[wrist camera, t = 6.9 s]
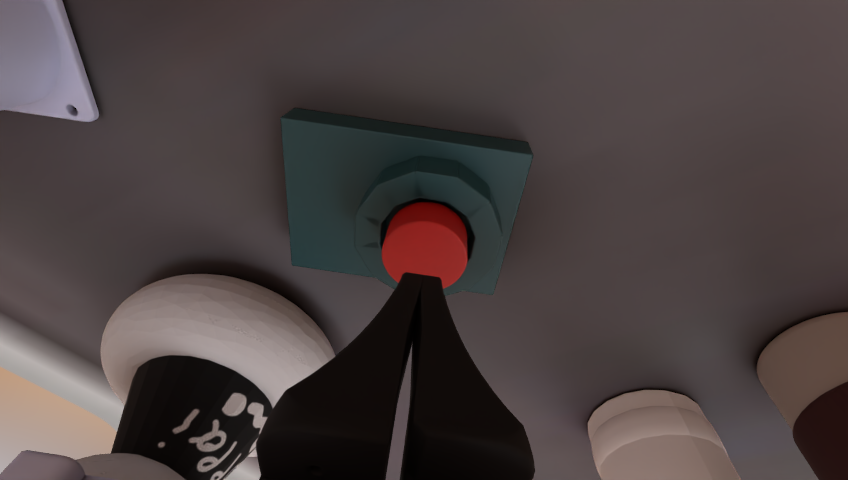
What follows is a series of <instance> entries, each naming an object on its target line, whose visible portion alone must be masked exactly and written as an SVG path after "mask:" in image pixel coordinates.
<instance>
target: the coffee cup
mask: <svg viewBox="0 0 848 480" xmlns="http://www.w3.org/2000/svg"><path fill="white" fill-rule="evenodd" d="M757 374H758V378H759V380H760V382H761V384H762V385H763V387H764V388H765V390H766V392H767V393H768V395H769V396H770V398H771V399H772V401H773V402H774V404H775V405H776V407H777V408H778V410H779V411H780V413H781V414H782V416H783V417H784V419H785V420H786V422H787V423H788V425H789V426H790V428H791V429H792V431H793V438H794V441H795V443H796V445H797V446H798V448H799V450H800V451H801V453H802V454H803V456H804V457H805V459H806V460H807V462H808V463H809V465H810V467H811V468H812V470H813V471H814V473H815V474H816V476H817V477H818V479H819V480H848V312H840V313H833V314H828V315H823V316H819V317H815V318H812V319H809V320H807V321H804V322H802V323H799V324H797V325H795V326H793V327H791V328H789V329H787V330H786V331H784V332H783V333H781V334H780V335H778V336H777V337H776V338H775V339H773V340H772V341H771V342H770V343H769V344H768V345H767V346H766V347H765V349H764V350H763V351H762V353H761V355H760V357H759V360H758V363H757Z"/></svg>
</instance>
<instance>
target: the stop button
mask: <svg viewBox="0 0 848 480" xmlns="http://www.w3.org/2000/svg"><path fill="white" fill-rule="evenodd" d="M467 260H468V254H467V231H466V228H465V225H464V223H463V221H462V220H461V218H460V217H459V216H458V215H457V214H456V213H455V212H454V211H452V210H451V209H449V208H448V207H446V206H444V205H441V204H438V203H433V202H418V203H414V204H410V205H408V206H406V207H404V208H402V209H401V210H400V211H398V212H397V213H396V214H395V215H394V217H393V218H392V220H391V222H390V224H389V227H388V230H387V233H386V237H385V240H384V243H383V246H382V261H383V264H384V266H385V269H386V270H387V272H388V273H389V275H390V276H391V277H392V278H393V279H394V280H395V281H397V282H398V283H399V281H400V279H401V277H402V274H404V273H405V272H409V273H415V274H422V275H429V276H435V277H440V279H441V280H442V286H443V289H444V288H446V287H448V286H450V285H452V284H453V283H455V282H456V281H457V280H458V279H459V278H460V277H461V275H462V274H463V272H464V270H465V268H466V265H467Z"/></svg>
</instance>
